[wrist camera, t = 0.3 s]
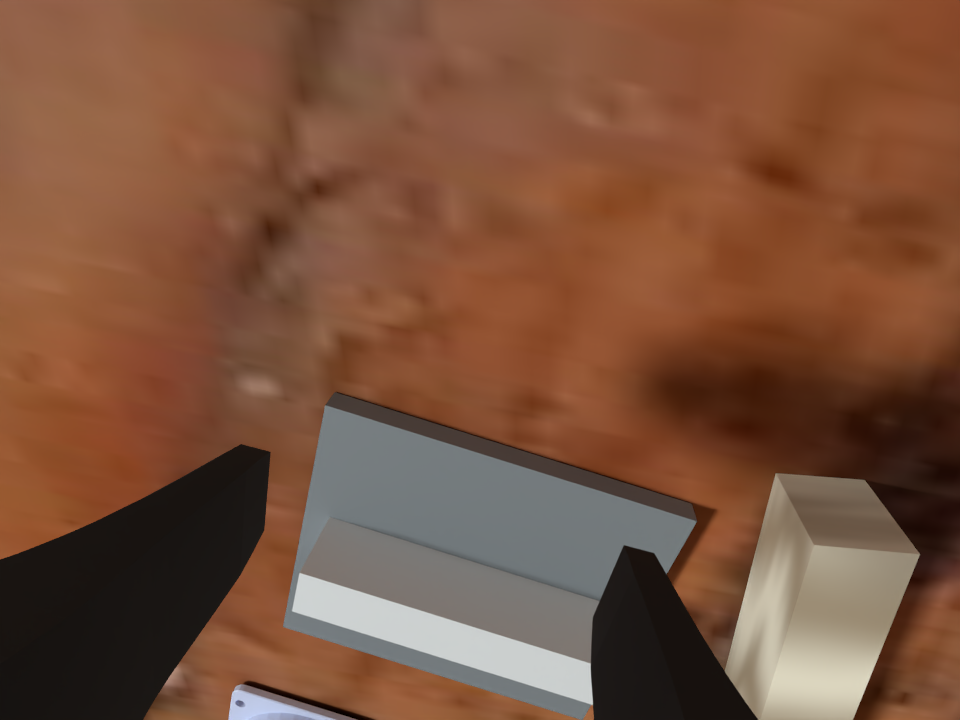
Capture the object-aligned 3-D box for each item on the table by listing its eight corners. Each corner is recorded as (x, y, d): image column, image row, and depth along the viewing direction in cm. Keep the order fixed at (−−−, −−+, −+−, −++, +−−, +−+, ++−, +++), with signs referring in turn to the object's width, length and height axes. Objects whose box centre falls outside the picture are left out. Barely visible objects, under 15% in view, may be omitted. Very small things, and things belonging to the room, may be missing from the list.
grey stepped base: (581, 699, 28) (584, 791, 24) (292, 609, 28) (251, 687, 24) (692, 503, 23) (715, 584, 19) (335, 392, 23) (291, 451, 19)
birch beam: (760, 782, 29) (787, 881, 26) (696, 773, 30) (713, 870, 26) (861, 474, 22) (920, 554, 18) (773, 468, 22) (813, 545, 18)
